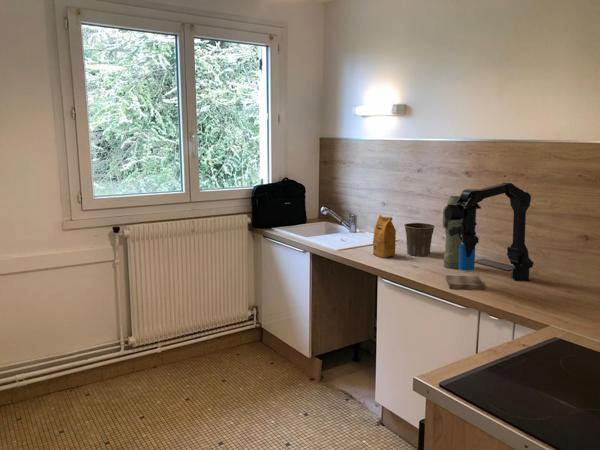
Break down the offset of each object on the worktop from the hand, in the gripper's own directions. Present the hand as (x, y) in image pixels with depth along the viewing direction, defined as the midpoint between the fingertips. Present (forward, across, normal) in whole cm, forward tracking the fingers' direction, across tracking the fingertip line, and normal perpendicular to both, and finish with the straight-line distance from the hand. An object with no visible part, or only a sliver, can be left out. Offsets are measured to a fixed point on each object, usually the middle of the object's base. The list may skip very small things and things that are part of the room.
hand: (466, 255), depth 215 cm
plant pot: (+13, -57, -18) cm, 61 cm away
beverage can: (+7, 0, 0) cm, 7 cm away
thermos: (+13, -31, -2) cm, 34 cm away
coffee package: (+14, -50, -36) cm, 64 cm away
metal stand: (+13, 0, 0) cm, 13 cm away
